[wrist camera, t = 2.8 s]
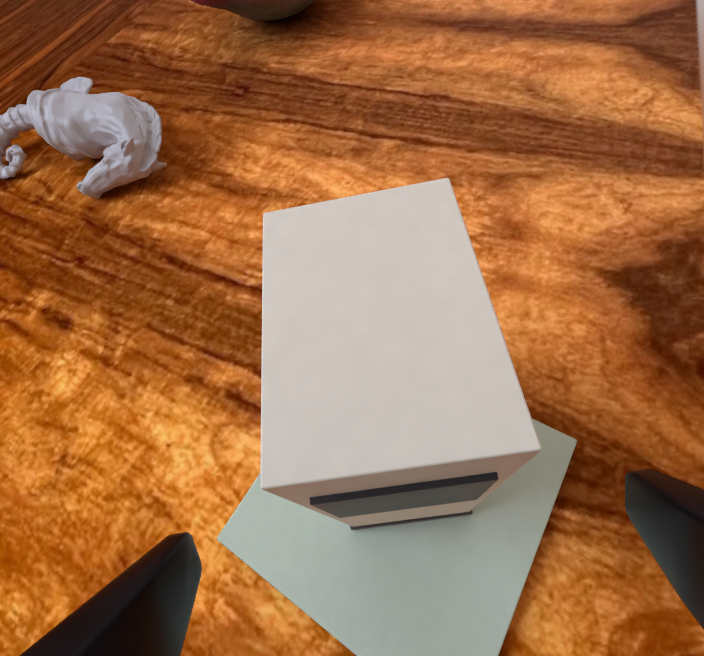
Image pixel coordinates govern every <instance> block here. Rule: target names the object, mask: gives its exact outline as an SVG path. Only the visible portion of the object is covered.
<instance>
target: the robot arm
mask: <svg viewBox="0 0 704 656" xmlns="http://www.w3.org/2000/svg"><path fill="white" fill-rule="evenodd" d="M625 507H626V511H627V514H628V516H629V518H630V520H631V522H632V523H633V525H634V527H635V528H636V530H637V531H638V533H639V534H640V536H641V538H642V539H643V541H644V542H645V544H646V545H647V547H648V549H649V550H650V552H651V553H652V555H653V556H654V558H655V560H656V561H657V563H658V564H659V566H660V567H661V569H662V571H663V572H664V574H665V575H666V577H667V579H668V580H669V582H670V583H671V585H672V586H673V588H674V589H675V591H676V592H677V594H678V595H679V597H680V598H681V600H682V601H683V602H684V604H685V605H686V606H687V608H688V609H689V611H690V612H691V613H692V615H693V616H694V617H695V619H696V620H697V621H698V622H699V624H700V625H701V626H702V628H703V629H704V490H703V489H701V488H698V487H696V486H693V485H691V484H688V483H686V482H683V481H681V480H678V479H676V478H673V477H671V476H668V475H665V474H663V473H660V472H658V471H655V470H653V469H649V468H646V469H638V470H631V471H629V472H627V473H626V476H625ZM201 570H202V567H201V561H200V558H199V555H198V552H197V549H196V546H195V543H194V541H193V538H192V536H191V534H190V533H187V532H184V533H176V534H171V535H169V536H167V537H166V538H165V539H163V540H162V541H161V542H160V543H158V544H157V545H156V546H155V547H153V548H152V549H151V550H150V551H148V552H147V553H146V554H145V555H143V556H142V557H141V558H140V559H139V560H137V561H136V562H135V563H134V564H132V565H131V566H130V567H129V568H127V569H126V570H125V571H124V572H122V573H121V574H120V575H119V576H117V577H116V578H115V579H114V580H113V581H111V582H110V583H109V584H108V585H106V586H105V587H104V588H103V589H101V590H100V591H99V592H98V593H96V594H95V595H94V596H93V597H91V598H90V599H89V600H88V601H87V602H85V603H84V604H83V605H82V606H80V607H79V608H78V609H77V610H75V611H74V612H73V613H72V614H70V615H69V616H68V617H67V618H65V619H64V620H63V621H62V622H61V623H59V624H58V625H57V626H56V627H54V628H53V629H52V630H51V631H49V632H48V633H47V634H46V635H44V636H43V637H42V638H41V639H39V640H38V641H37V642H36V643H35V644H33V645H32V646H31V647H30V648H28V649H27V650H26V651H25V652H23V653H22V654H21V655H20V656H180V655H181V651H182V648H183V644H184V640H185V636H186V632H187V628H188V624H189V620H190V617H191V613H192V609H193V605H194V601H195V597H196V593H197V589H198V585H199V581H200V577H201Z"/></svg>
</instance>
